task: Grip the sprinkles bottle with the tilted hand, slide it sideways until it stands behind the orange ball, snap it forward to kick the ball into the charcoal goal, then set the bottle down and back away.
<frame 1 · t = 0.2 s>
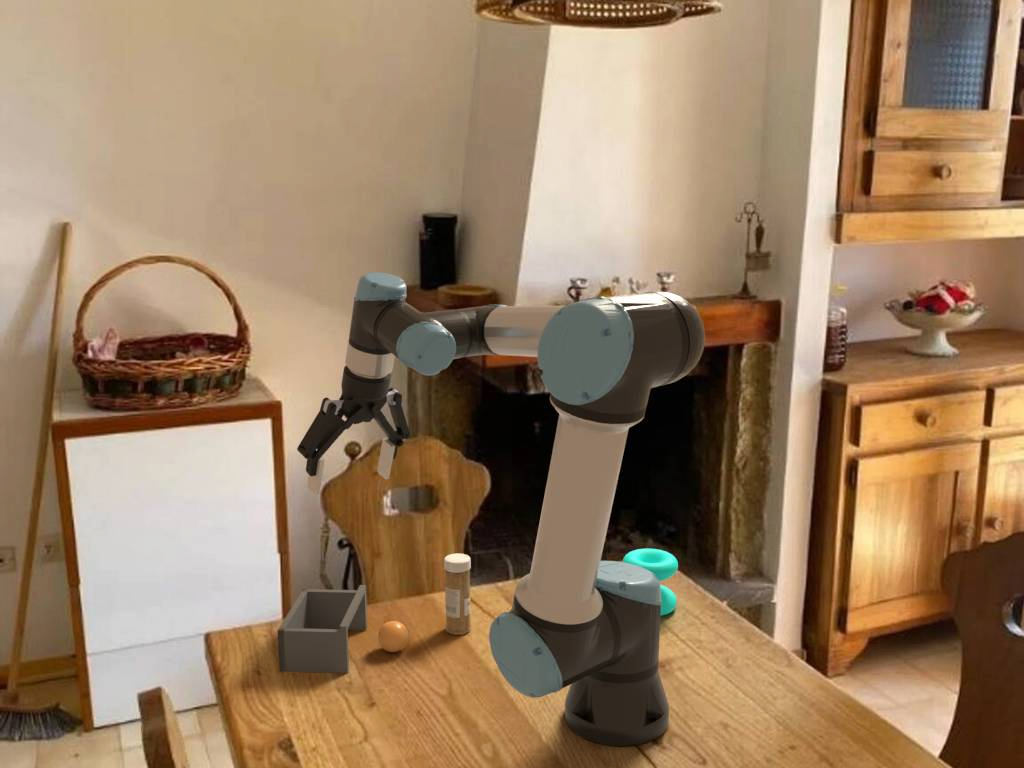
hand: (348, 482, 164), 27 cm above the table, tool tilted 15°, fingers open, 13 cm apart
goal: (325, 648, 165), on the table
sprinkles bottle: (458, 631, 171), on the table
donuts: (648, 608, 181), on the table
ball: (393, 636, 163), point 2 cm above the table
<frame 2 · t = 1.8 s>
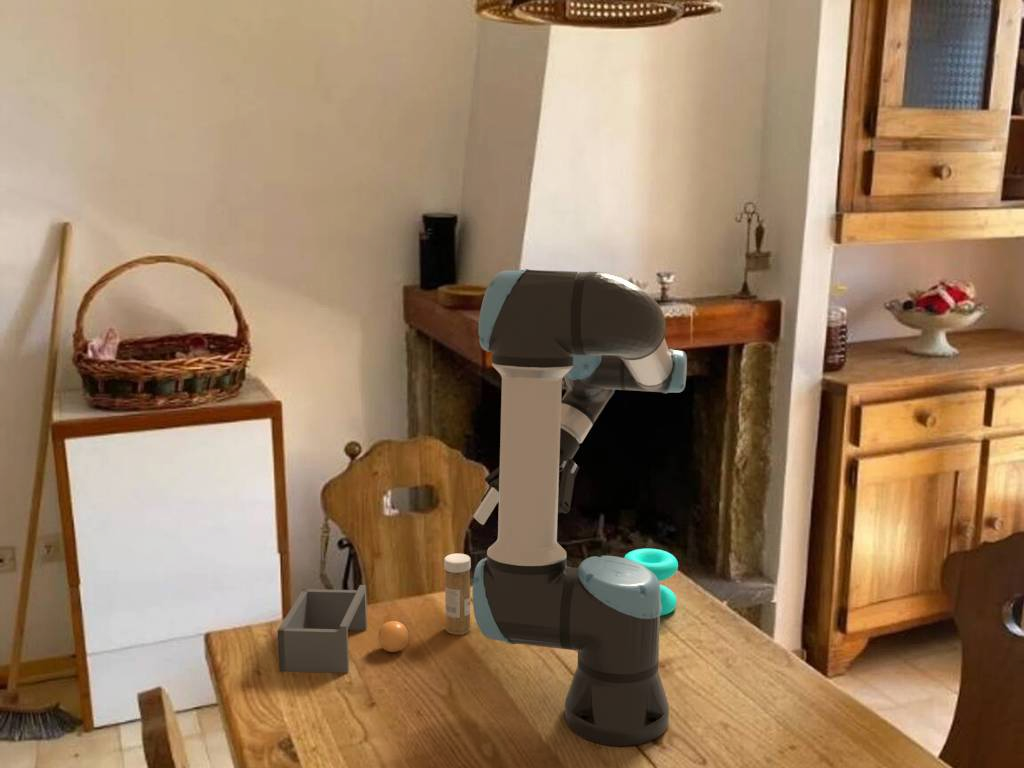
hand: (502, 530, 175), 16 cm above the table, tool tilted 45°, fingers open, 13 cm apart
nothing on the table moved.
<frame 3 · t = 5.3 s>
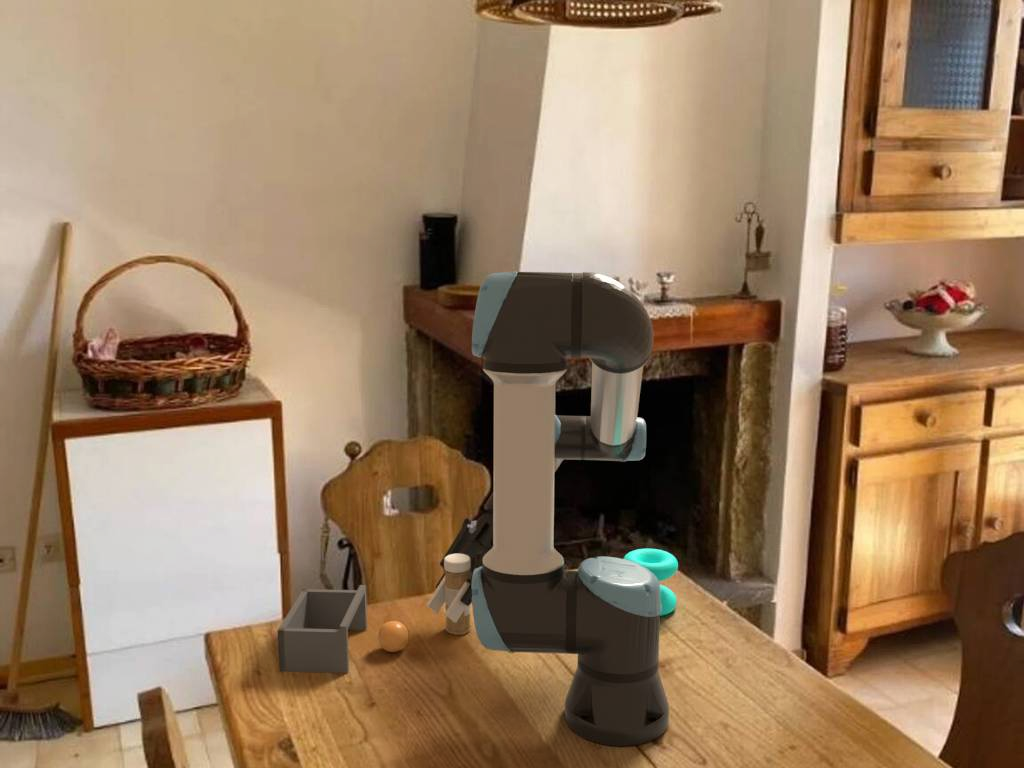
hand: (440, 613, 168), 4 cm above the table, tool tilted 45°, fingers closed on sprinkles bottle, 4 cm apart
sprinkles bottle: (458, 631, 171), on the table, touching gripper
everything else where it was.
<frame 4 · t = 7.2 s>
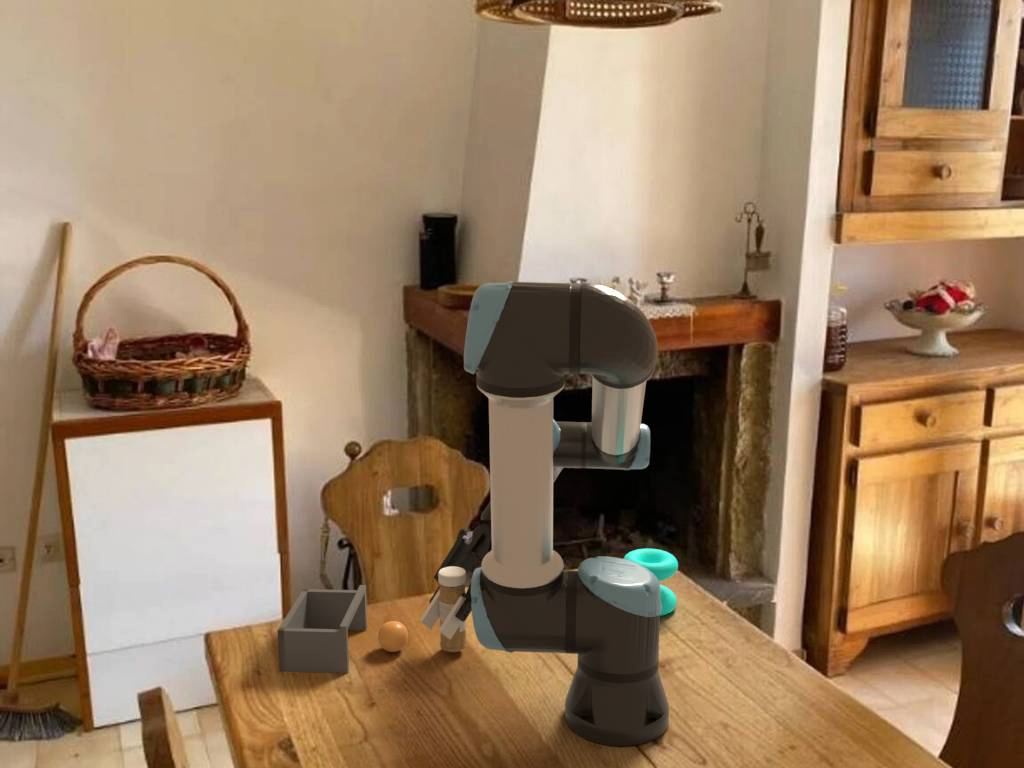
hand: (434, 629, 160), 5 cm above the table, tool tilted 45°, fingers closed on sprinkles bottle, 4 cm apart
sprinkles bottle: (453, 647, 163), point 1 cm above the table, touching gripper
everything else where it was.
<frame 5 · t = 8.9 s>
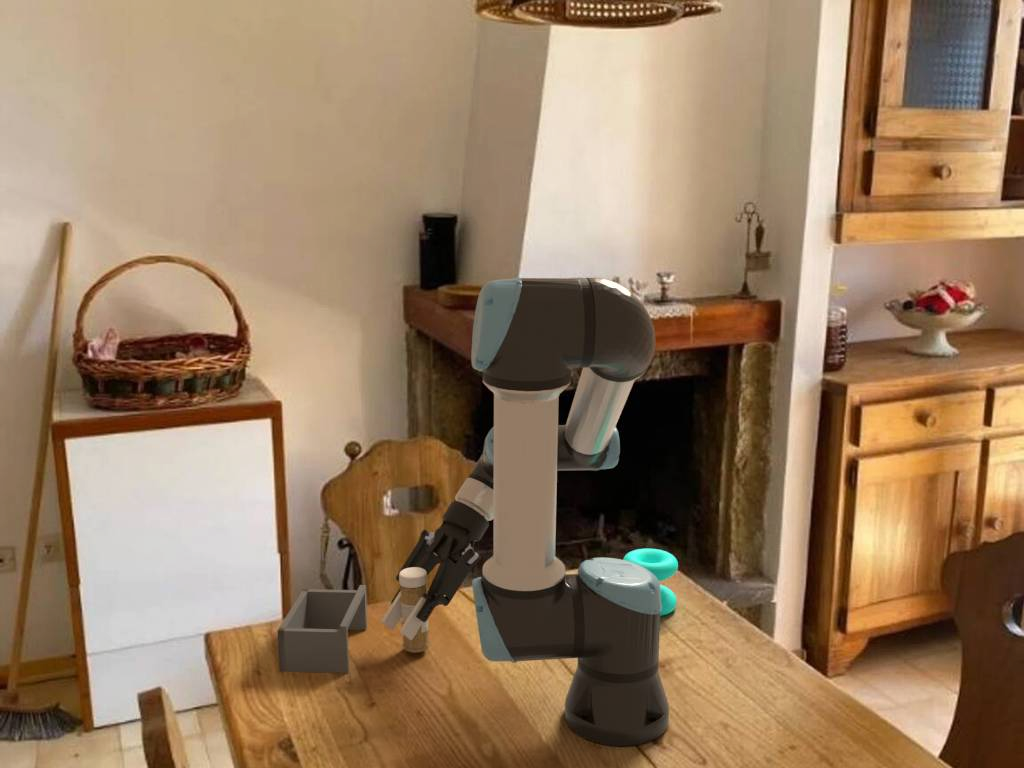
hand: (396, 630, 160), 5 cm above the table, tool tilted 45°, fingers closed on sprinkles bottle, 4 cm apart
sprinkles bottle: (416, 648, 164), point 1 cm above the table, touching gripper
ball: (307, 646, 160), point 2 cm above the table, tilted 61°
everything else where it was.
when the fingers open (5 cm above the table, at t = 9.4 s): sprinkles bottle stays where it is, on the table.
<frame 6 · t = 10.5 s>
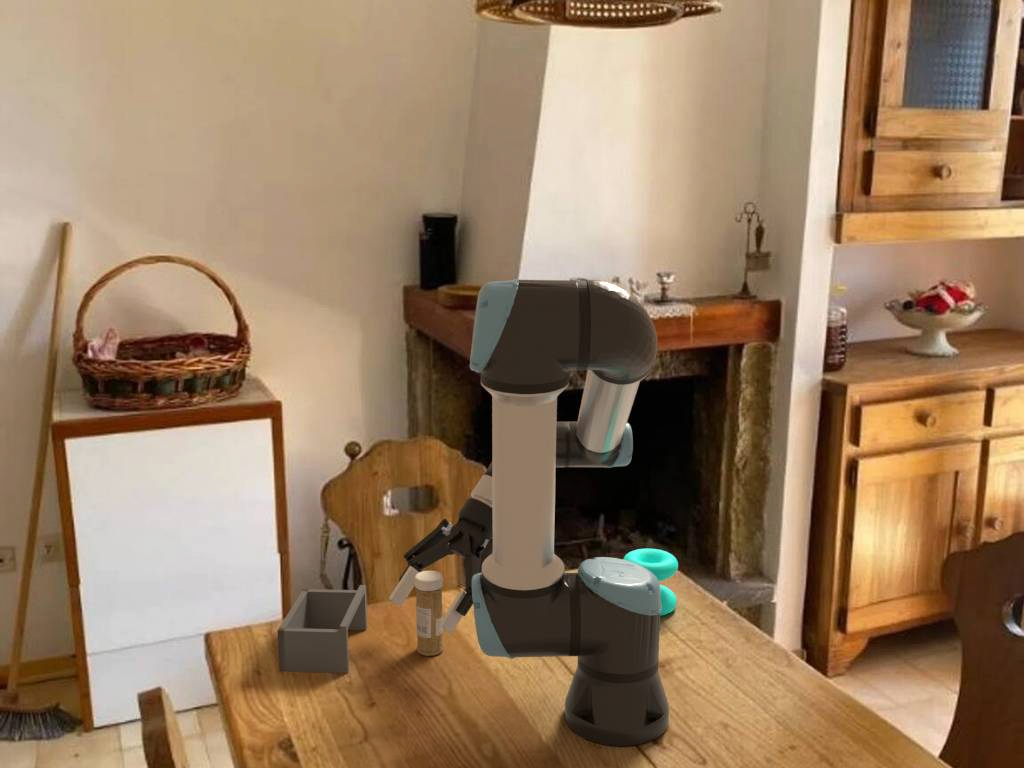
hand: (418, 616, 161), 7 cm above the table, tool tilted 45°, fingers open, 13 cm apart
sprinkles bottle: (429, 651, 164), on the table
ball: (314, 646, 160), point 2 cm above the table, tilted 84°
everything else where it was.
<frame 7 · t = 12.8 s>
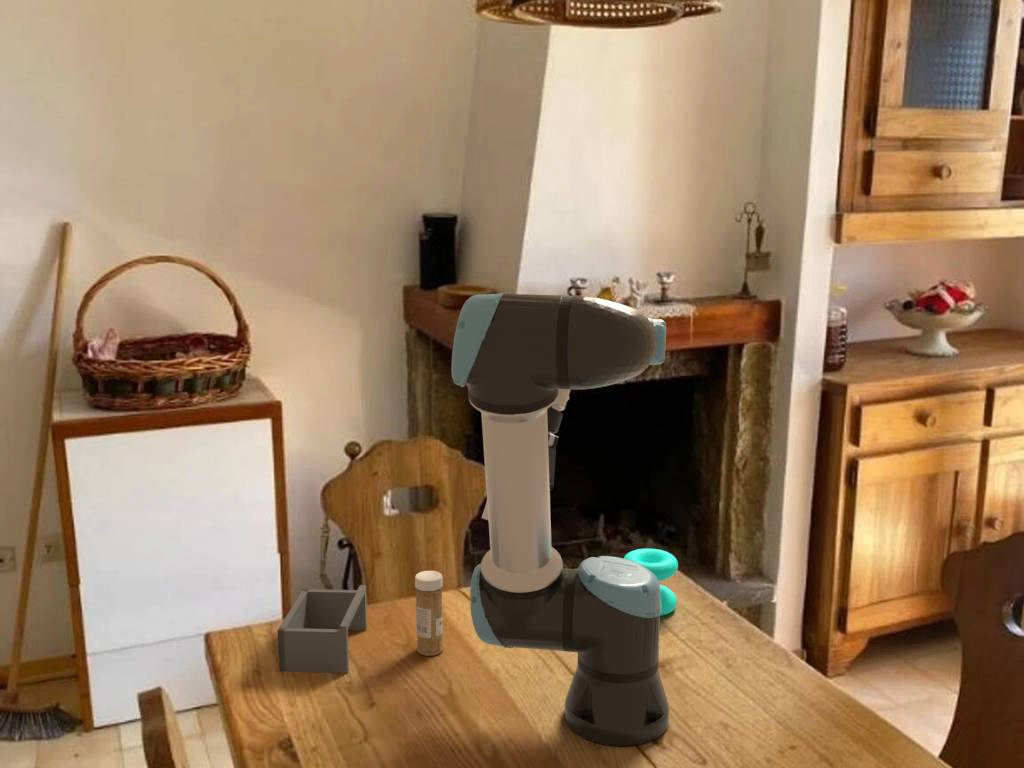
hand: (505, 525, 166), 20 cm above the table, tool tilted 30°, fingers open, 13 cm apart
ball: (323, 646, 160), point 2 cm above the table, tilted 117°
everything else where it was.
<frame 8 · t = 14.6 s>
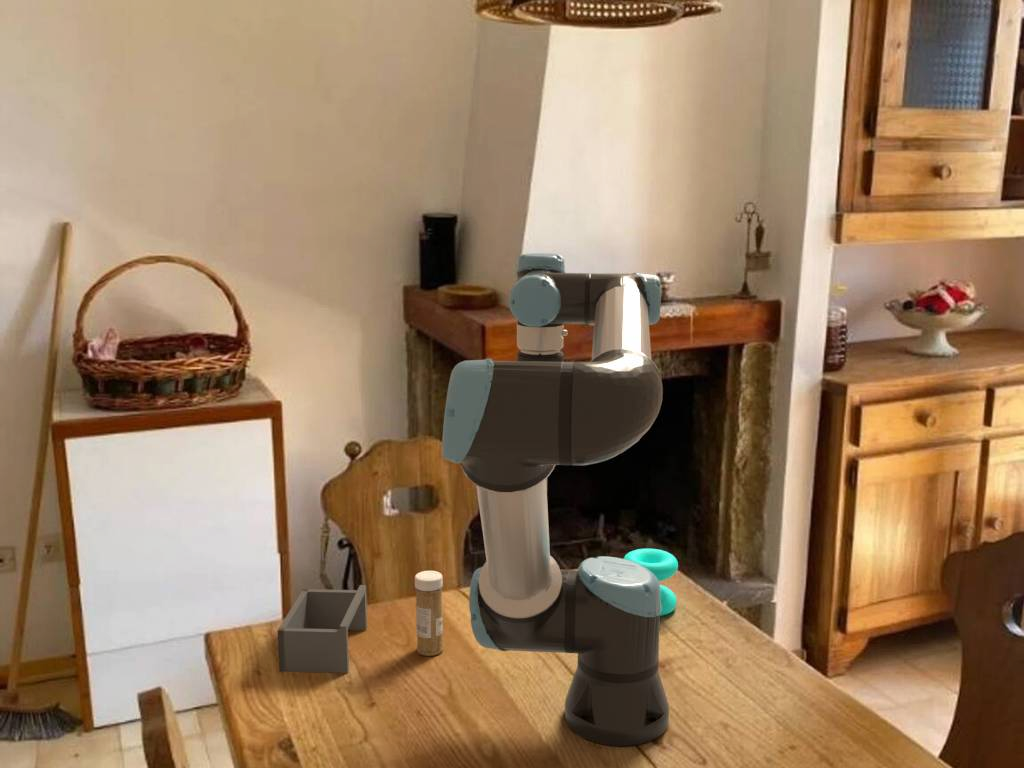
hand: (539, 476, 163), 29 cm above the table, tool pointing down, fingers open, 13 cm apart
ball: (331, 647, 160), point 2 cm above the table, tilted 141°
everything else where it was.
at the end: ball inside the target area (4.7 cm from its centre), point 2.5 cm above the table; sprinkles bottle tilted 0° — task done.
